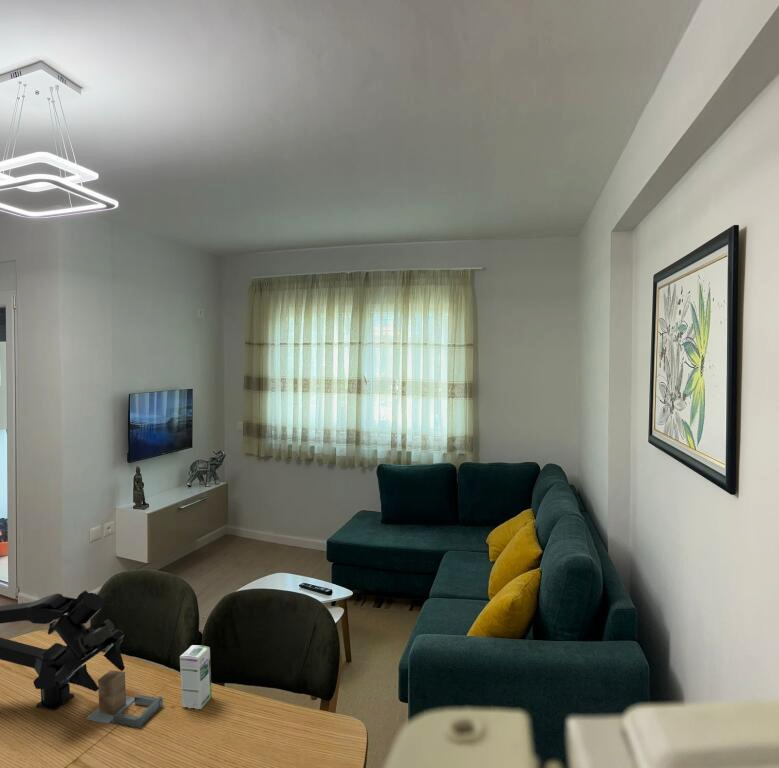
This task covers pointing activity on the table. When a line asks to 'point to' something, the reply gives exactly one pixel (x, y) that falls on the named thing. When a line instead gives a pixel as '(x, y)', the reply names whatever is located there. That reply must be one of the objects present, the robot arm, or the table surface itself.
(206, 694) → the syrup box
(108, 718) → the mat
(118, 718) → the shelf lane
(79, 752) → the table surface
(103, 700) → the walnut block
